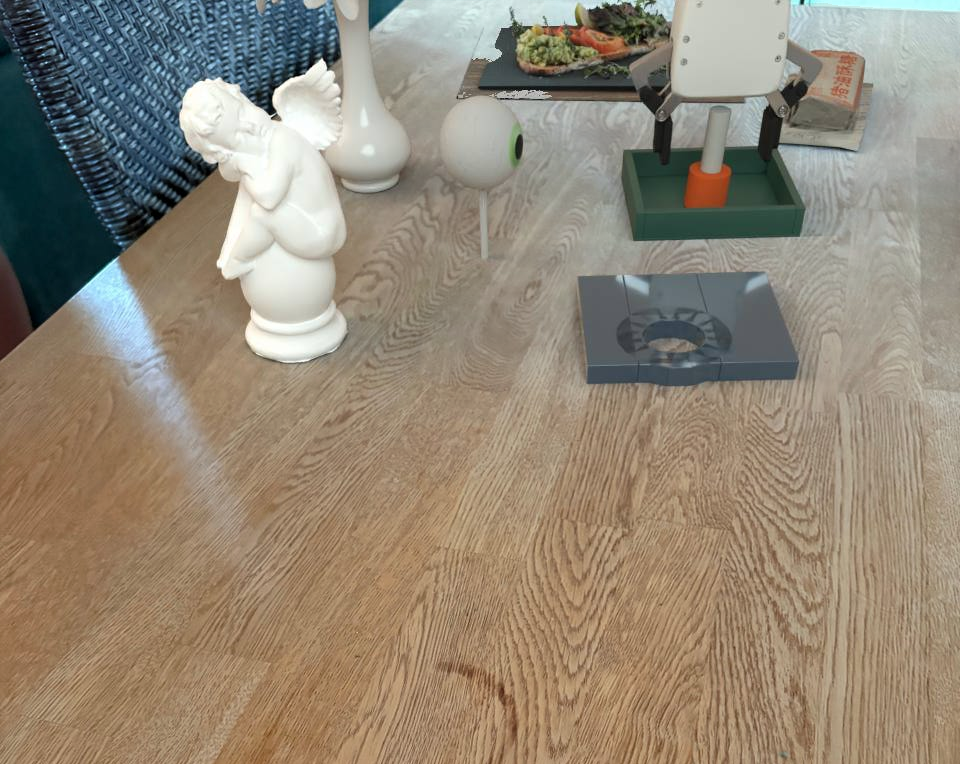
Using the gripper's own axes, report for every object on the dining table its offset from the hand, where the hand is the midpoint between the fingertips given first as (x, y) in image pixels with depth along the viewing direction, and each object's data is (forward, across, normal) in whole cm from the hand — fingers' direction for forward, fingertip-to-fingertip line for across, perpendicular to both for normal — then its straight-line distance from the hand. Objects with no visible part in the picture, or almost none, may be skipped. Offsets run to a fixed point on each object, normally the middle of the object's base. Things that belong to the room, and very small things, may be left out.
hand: (713, 157), depth 98 cm
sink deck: (+5, +6, +26) cm, 27 cm away
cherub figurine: (+5, +37, +21) cm, 43 cm away
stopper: (+4, 0, +1) cm, 4 cm away
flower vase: (+5, +35, -8) cm, 36 cm away
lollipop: (+5, +22, +12) cm, 26 cm away
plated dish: (+5, +7, -43) cm, 44 cm away
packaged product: (+5, -16, -22) cm, 28 cm away
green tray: (+5, 0, 0) cm, 5 cm away
